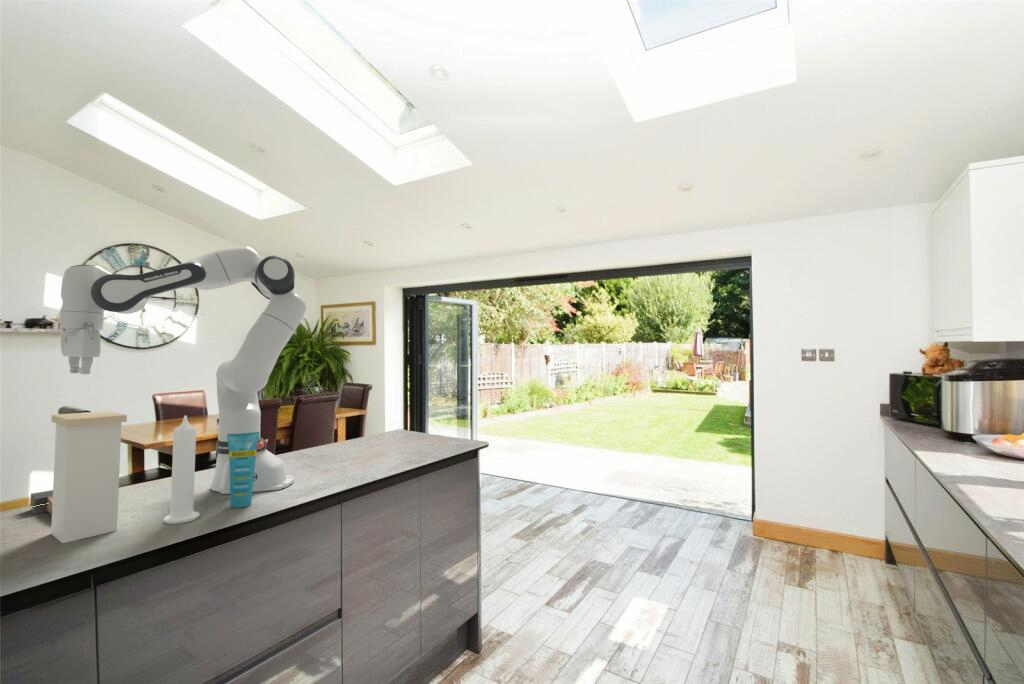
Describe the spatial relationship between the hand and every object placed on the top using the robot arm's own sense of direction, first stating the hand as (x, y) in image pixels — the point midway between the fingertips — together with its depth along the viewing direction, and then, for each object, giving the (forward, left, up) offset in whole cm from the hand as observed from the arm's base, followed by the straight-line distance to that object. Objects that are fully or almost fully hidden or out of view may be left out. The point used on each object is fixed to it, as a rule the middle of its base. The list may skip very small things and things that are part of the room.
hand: (79, 373), depth 127 cm
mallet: (-5, +13, -30) cm, 33 cm away
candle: (-36, +21, -34) cm, 54 cm away
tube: (-46, +12, -34) cm, 59 cm away
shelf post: (-19, +27, -34) cm, 48 cm away
